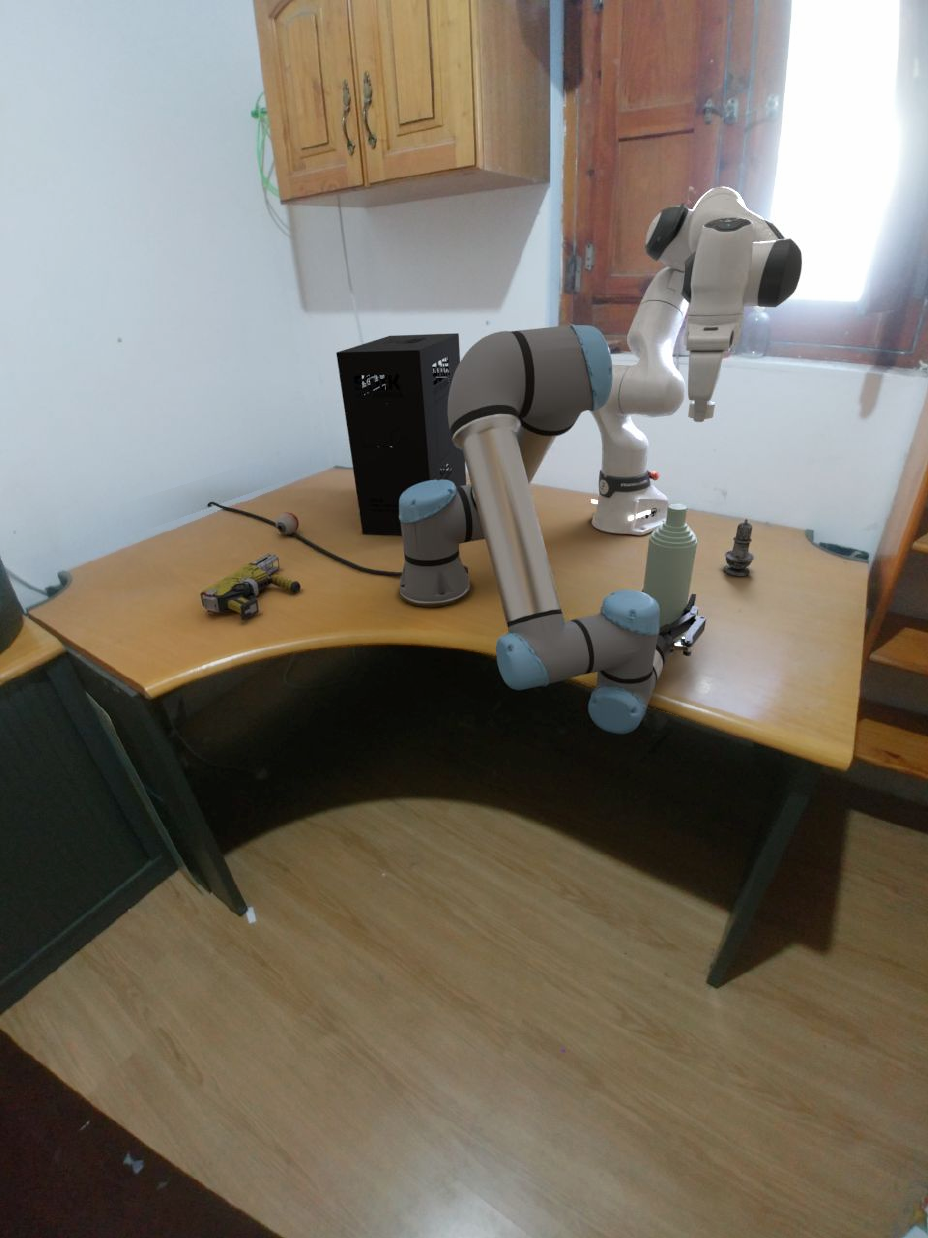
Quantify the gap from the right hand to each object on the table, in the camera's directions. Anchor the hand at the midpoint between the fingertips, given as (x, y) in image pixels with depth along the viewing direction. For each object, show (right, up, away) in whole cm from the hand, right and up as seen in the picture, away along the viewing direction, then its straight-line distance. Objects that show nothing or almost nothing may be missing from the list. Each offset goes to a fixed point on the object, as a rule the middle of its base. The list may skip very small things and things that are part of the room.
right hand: (700, 417), depth 108 cm
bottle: (-6, -39, +3) cm, 40 cm away
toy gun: (-87, -31, +26) cm, 96 cm away
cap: (0, +2, -1) cm, 2 cm away
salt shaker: (+17, -26, +24) cm, 39 cm away
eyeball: (-90, -13, +57) cm, 108 cm away
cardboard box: (-56, -5, +68) cm, 88 cm away
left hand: (-5, -32, +3) cm, 33 cm away
